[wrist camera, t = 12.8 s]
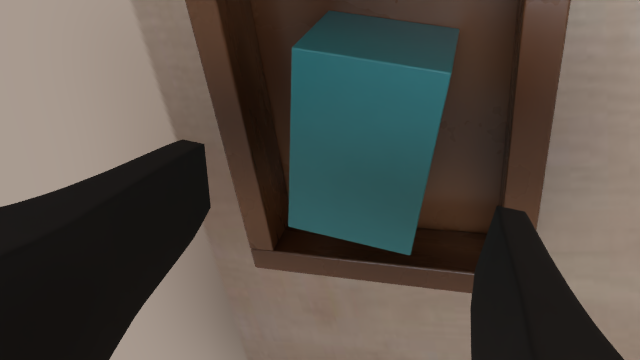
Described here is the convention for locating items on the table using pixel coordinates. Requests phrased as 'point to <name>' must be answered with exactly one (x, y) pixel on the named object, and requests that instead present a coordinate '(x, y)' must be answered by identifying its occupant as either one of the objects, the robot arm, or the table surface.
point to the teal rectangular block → (365, 126)
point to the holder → (451, 145)
